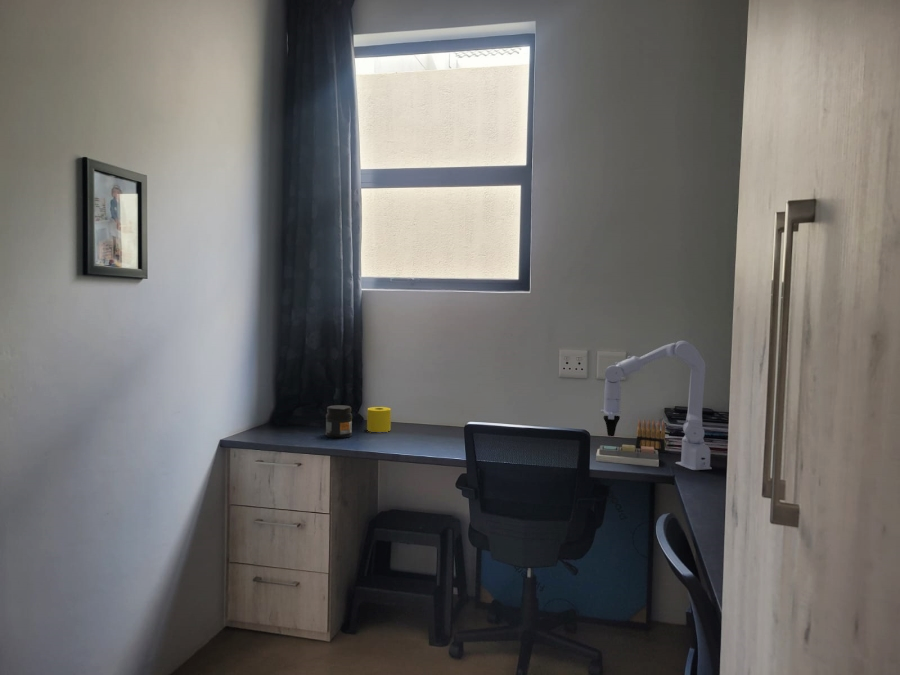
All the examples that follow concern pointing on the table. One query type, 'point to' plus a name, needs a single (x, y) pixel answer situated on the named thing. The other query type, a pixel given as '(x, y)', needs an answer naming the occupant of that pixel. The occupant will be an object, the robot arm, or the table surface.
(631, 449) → the ochre key
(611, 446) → the teal key
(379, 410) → the tape roll
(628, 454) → the button pad
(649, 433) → the ammunition clip
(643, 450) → the terracotta key
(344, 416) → the supplement container
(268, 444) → the table surface
